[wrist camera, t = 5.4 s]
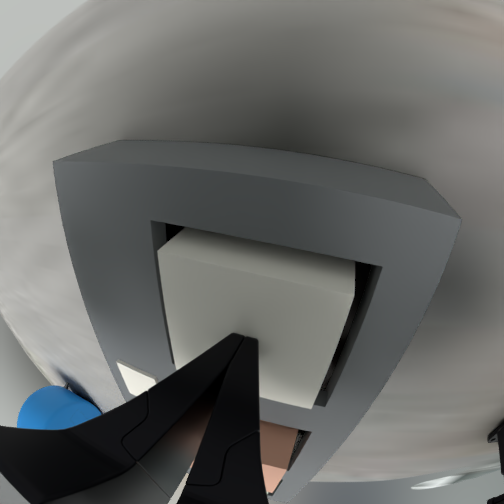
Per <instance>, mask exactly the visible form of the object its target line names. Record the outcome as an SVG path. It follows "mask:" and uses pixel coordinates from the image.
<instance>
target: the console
mask: <svg viewBox="0 0 504 504" xmlns="http://www.w3.org/2000/svg"><path fill="white" fill-rule="evenodd" d="M53 168H54V176H55V183H56V190H57V196H58V202H59V207H60V213H61V218H62V223H63V227H64V232H65V236H66V241H67V245H68V249H69V253H70V257H71V261H72V264H73V268H74V271H75V275H76V278H77V282H78V285H79V288H80V291H81V295H82V298H83V301H84V304H85V307H86V310H87V312H88V315H89V318H90V321H91V324H92V326H93V329H94V332H95V334H96V337H97V339H98V342H99V344H100V347H101V349H102V352H103V354H104V356H105V359H106V361H107V363H108V365H109V368H110V370H111V372H112V374H113V376H114V379H115V381H116V383H117V385H118V387H119V389H120V391H121V393H122V395H123V397H124V399H125V401H126V402H128V401H130V400H131V399H133V398H135V397H136V396H138V395H140V394H141V393H143V392H144V391H148V389H149V388H151V387H152V386H154V385H155V384H157V383H159V382H160V381H162V380H163V379H165V378H166V377H168V376H169V375H171V374H172V373H174V372H175V371H177V370H176V366H175V361H174V356H173V351H172V346H171V340H170V335H169V329H168V323H167V317H166V311H165V305H164V298H163V292H162V284H161V277H160V269H159V261H158V252H157V251H158V250H159V249H160V248H161V247H162V246H164V245H165V244H166V243H167V238H166V225H165V223H169V224H174V225H179V226H184V227H190V228H195V229H200V230H205V231H210V232H215V233H221V234H226V235H231V236H236V237H241V238H246V239H251V240H256V241H261V242H266V243H271V244H276V245H281V246H286V247H291V248H296V249H301V250H306V251H311V252H315V253H320V254H325V255H330V256H335V257H340V258H344V259H349V260H354V261H359V262H363V263H368V264H372V266H371V270H370V273H369V276H368V279H367V283H366V286H365V289H364V292H363V295H362V298H361V301H360V304H359V307H358V310H357V312H356V315H355V318H354V321H353V324H352V326H351V329H350V332H349V334H348V337H347V340H346V342H345V345H344V347H343V350H342V352H341V355H340V357H339V360H338V362H337V365H336V367H335V369H334V372H333V374H332V376H331V379H330V381H329V383H328V386H327V388H326V390H325V391H322V390H319V392H318V395H317V397H316V399H315V402H314V404H313V406H312V408H311V409H308V408H303V407H299V406H294V405H290V404H286V403H282V402H278V401H274V400H270V399H266V398H262V397H260V420H263V421H267V422H271V423H275V424H279V425H283V426H287V427H292V428H296V429H301V430H305V431H306V432H305V434H304V436H303V437H302V439H301V441H300V443H299V445H298V447H297V449H296V451H295V452H294V454H293V456H292V458H291V460H290V461H289V464H288V468H287V470H286V472H285V474H284V475H283V477H282V479H281V480H280V482H279V483H278V485H277V487H276V488H275V490H274V491H273V493H270V492H268V494H267V497H268V499H271V500H275V501H280V502H284V503H288V502H289V501H290V500H291V499H292V498H293V497H294V496H295V495H296V494H297V493H298V492H299V491H300V490H301V489H302V488H303V487H304V486H305V485H306V484H307V483H308V482H309V481H310V480H311V479H312V478H313V477H314V476H315V475H316V474H317V473H318V471H319V470H320V469H321V468H322V467H323V466H324V465H325V464H326V463H327V461H328V460H329V459H330V458H331V457H332V456H333V454H334V453H335V452H336V451H337V450H338V448H339V447H340V446H341V445H342V443H343V442H344V441H345V440H346V439H347V437H348V436H349V435H350V433H351V432H352V431H353V430H354V428H355V427H356V426H357V424H358V423H359V422H360V420H361V419H362V417H363V416H364V415H365V413H366V412H367V411H368V409H369V408H370V406H371V405H372V403H373V402H374V400H375V399H376V397H377V396H378V395H379V393H380V391H381V390H382V388H383V387H384V385H385V384H386V382H387V381H388V379H389V377H390V376H391V374H392V373H393V371H394V369H395V368H396V366H397V364H398V363H399V361H400V359H401V358H402V356H403V354H404V352H405V351H406V349H407V347H408V345H409V343H410V341H411V340H412V338H413V336H414V334H415V332H416V330H417V328H418V326H419V324H420V322H421V320H422V318H423V316H424V314H425V312H426V310H427V308H428V306H429V304H430V302H431V299H432V297H433V295H434V293H435V291H436V288H437V286H438V284H439V281H440V279H441V277H442V274H443V272H444V269H445V267H446V264H447V262H448V259H449V256H450V254H451V251H452V248H453V245H454V243H455V240H456V237H457V234H458V231H459V228H460V225H461V222H462V219H461V218H460V216H459V215H458V214H457V213H456V212H455V211H454V210H453V208H452V207H451V206H450V205H449V204H448V203H447V202H446V201H445V200H444V198H443V197H442V196H441V195H440V194H439V193H438V192H437V191H436V190H435V189H434V188H433V187H432V186H431V185H430V184H429V183H428V182H427V181H426V180H425V179H423V178H419V177H415V176H412V175H408V174H404V173H400V172H396V171H391V170H387V169H383V168H379V167H374V166H369V165H365V164H360V163H355V162H350V161H345V160H340V159H334V158H329V157H323V156H317V155H311V154H304V153H298V152H291V151H284V150H276V149H268V148H260V147H251V146H241V145H230V144H218V143H204V142H186V141H157V140H118V141H115V142H111V143H108V144H104V145H101V146H98V147H94V148H91V149H88V150H85V151H82V152H79V153H75V154H73V155H70V156H67V157H64V158H61V159H58V160H55V161H53ZM190 470H191V467H190V468H189V469H188V471H187V473H188V474H189V473H190Z"/></svg>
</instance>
